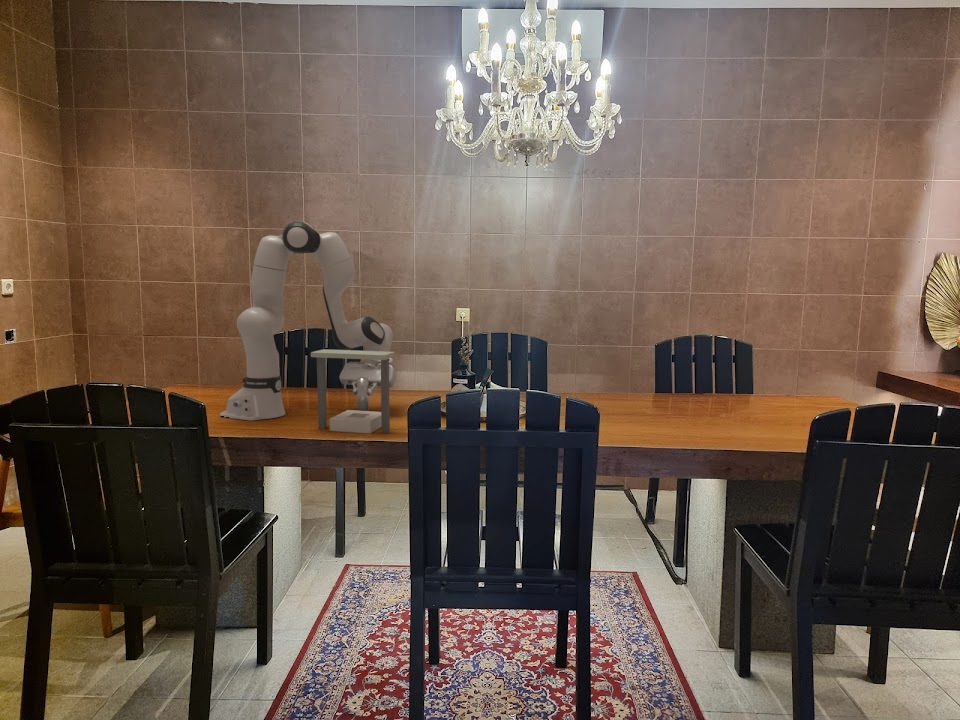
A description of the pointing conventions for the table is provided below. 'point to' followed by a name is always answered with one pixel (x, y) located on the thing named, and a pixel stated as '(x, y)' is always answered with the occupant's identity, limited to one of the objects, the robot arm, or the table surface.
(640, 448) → the table surface
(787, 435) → the table surface
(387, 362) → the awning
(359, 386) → the peg
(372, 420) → the socket
